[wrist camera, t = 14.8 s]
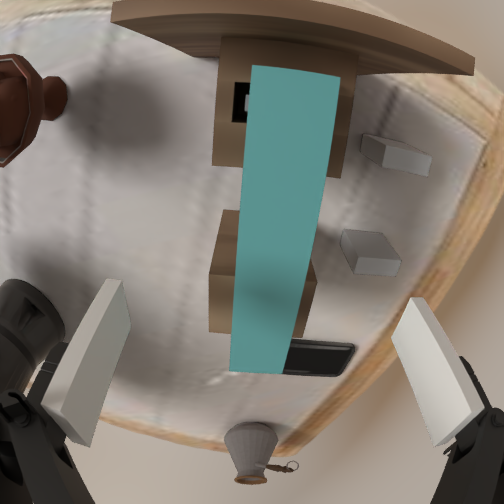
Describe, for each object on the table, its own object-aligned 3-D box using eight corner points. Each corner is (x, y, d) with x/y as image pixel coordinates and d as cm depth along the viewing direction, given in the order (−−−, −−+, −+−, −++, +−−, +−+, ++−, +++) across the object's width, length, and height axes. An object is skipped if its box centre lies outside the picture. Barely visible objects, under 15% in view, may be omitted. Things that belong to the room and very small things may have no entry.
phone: (260, 338, 41) (357, 347, 42) (260, 333, 42) (356, 341, 43) (250, 371, 45) (339, 377, 46) (251, 366, 46) (338, 372, 47)
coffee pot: (262, 442, 62) (262, 497, 49) (217, 432, 59) (212, 491, 46) (314, 402, 52) (323, 472, 39) (261, 390, 49) (262, 467, 36)
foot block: (289, 262, 36) (302, 337, 25) (221, 257, 35) (208, 332, 25) (297, 216, 33) (317, 282, 22) (223, 209, 32) (208, 274, 22)
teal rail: (278, 300, 30) (285, 373, 22) (232, 296, 29) (225, 370, 22) (310, 81, 19) (345, 78, 12) (249, 74, 19) (246, 64, 11)
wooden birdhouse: (346, 149, 29) (439, 227, 13) (187, 133, 28) (109, 196, 13) (358, 66, 24) (474, 57, 9) (193, 47, 23) (113, 2, 8)
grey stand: (377, 248, 34) (395, 276, 29) (339, 244, 34) (353, 273, 29) (404, 143, 28) (432, 156, 23) (363, 133, 28) (386, 145, 23)
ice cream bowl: (102, 69, 24) (3, 74, 11) (64, 158, 29) (-24, 212, 16) (39, 42, 21) (-57, 46, 8) (9, 125, 26) (-78, 162, 13)
